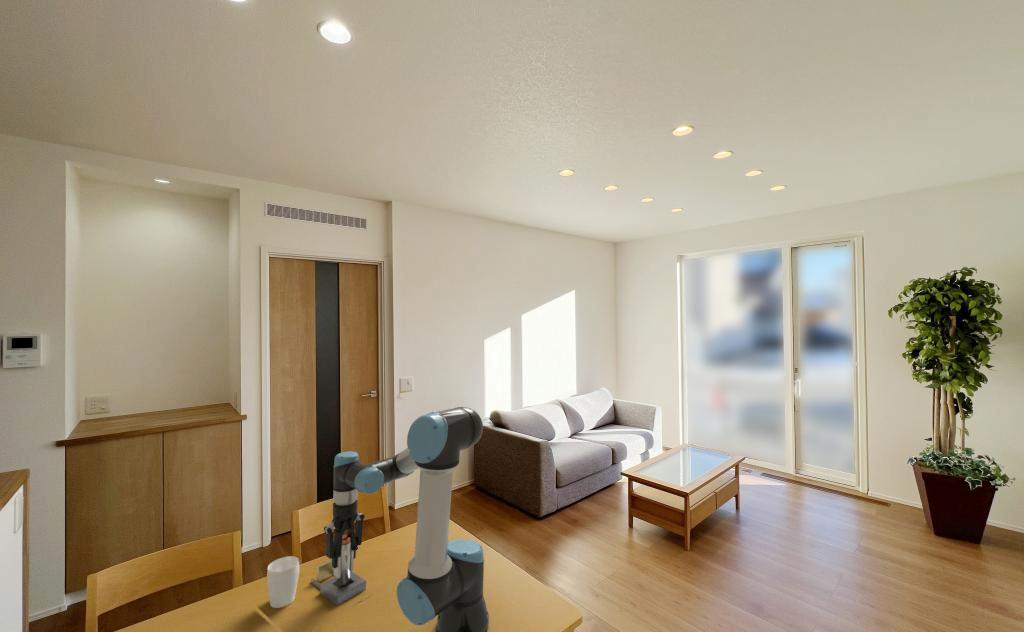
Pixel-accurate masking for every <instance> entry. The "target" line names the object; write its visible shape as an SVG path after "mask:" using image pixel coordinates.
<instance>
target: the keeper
mask: <svg viewBox="0 0 1024 632" xmlns="http://www.w3.org/2000/svg"><path fill="white" fill-rule="evenodd" d="M333 569H334V568H333V567H332V559H330V558H329V559H327V560H325V561H324V562H322V563H320V564H319V563H318V564H317V565H316V571H315V572H316V577H315V580H316V581H318V582H319V583H320V582H322V581H324V580H326V579H328V578H331V577H332V576H334V574H333Z"/></svg>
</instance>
